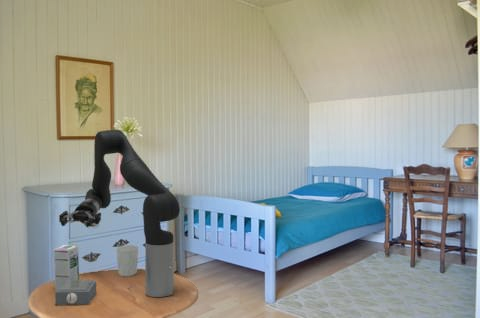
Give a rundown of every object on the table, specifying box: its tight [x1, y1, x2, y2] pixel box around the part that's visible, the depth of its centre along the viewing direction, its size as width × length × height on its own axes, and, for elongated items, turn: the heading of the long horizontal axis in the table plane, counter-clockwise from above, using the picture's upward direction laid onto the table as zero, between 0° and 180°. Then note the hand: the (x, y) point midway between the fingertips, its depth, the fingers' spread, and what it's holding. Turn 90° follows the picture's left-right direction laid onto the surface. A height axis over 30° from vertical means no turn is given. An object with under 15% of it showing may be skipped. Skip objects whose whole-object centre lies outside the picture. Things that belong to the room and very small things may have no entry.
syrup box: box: [53, 244, 80, 291], centre depth 151 cm, size 6×6×14 cm
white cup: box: [116, 244, 139, 277], centre depth 167 cm, size 8×8×10 cm
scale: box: [54, 280, 97, 306], centre depth 141 cm, size 10×11×4 cm
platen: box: [60, 279, 93, 291], centre depth 142 cm, size 8×8×1 cm
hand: (75, 224), depth 158 cm, fingers open, 8 cm apart
